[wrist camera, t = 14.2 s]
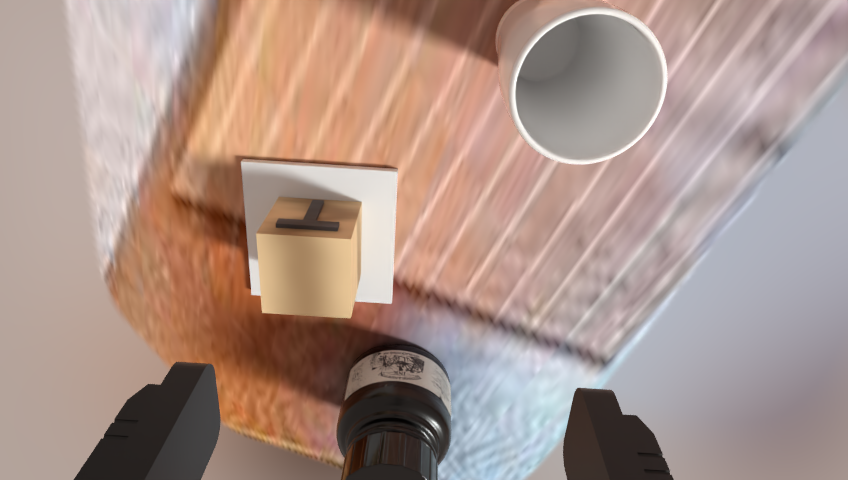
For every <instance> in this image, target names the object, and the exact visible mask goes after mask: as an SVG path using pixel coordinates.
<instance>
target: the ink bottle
mask: <svg viewBox="0 0 848 480" xmlns="http://www.w3.org/2000/svg"><path fill="white" fill-rule="evenodd" d="M450 441H451V389H450V382H449V377H448V374H447V372H446V370H445V368H444V366H443V365H442V364H441V362H440V361H439V360H438V359H437V358H435V357H434V356H433V355H431V354H429V353H428V352H426V351H423V350H421V349H418V348H415V347H411V346H406V345H384V346H379V347H376V348H373V349H371V350H368V351H367V352H365V353H364V354H362V355H361V356H360V357H359V358H358V359H357V360H356V361H355V362H354V364H353V365H352V367H351V369H350V371H349V373H348V376H347V380H346V385H345V390H344V394H343V399H342V404H341V409H340V413H339V418H338V423H337V442H338V446H339V449H340V451H341V453H342V455H343V456H344V458H345V459H344V464H343V470H342V475H341V480H438V465H439V464H440V463H441V462H442V460H443V459H444V457H445V456H446V454H447V452H448V449H449V446H450Z"/></svg>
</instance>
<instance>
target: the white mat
mask: <svg viewBox="0 0 848 480" xmlns="http://www.w3.org/2000/svg"><path fill="white" fill-rule="evenodd" d="M241 170H242V182H243V195H244V207H245V219H246V232H247V244H248V256H249V268H250V281H251V293H252V295H261V291H260V278H259V265H258V251H257V238H256V233H257V231H258V230H259V228H260V226H261V225H262V223H263V222H264V220H265V218H266V217H267V215H268V213H269V212H270V210H271V209H272V207H273V205H274V204H275V202H276V200H277V199H278V197H290V198H306V199H322V200H338V201H354V202H362V239H361V276H360V281H359V285H358V289H357V294H356V298H355V301H356V302H372V303H388V304H392V294H393V271H394V247H395V224H396V201H397V178H398V169H392V168H377V167H361V166H346V165H330V164H315V163H300V162H284V161H269V160H253V159H243V160H242V161H241Z"/></svg>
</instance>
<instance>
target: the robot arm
mask: <svg viewBox="0 0 848 480" xmlns="http://www.w3.org/2000/svg"><path fill="white" fill-rule="evenodd" d="M219 430H220V410H219V402H218V394H217V386H216V377H215V370H214V367H213V365H212V364H204V363H188V362H176V363H175V364H174V365H173V366H172V367H171V369H170V371H169V372H168V374H167V375H166V377H165V379H164V380H163V382H162V384H161V385H155V384H148V385H146V386H145V387H144V388H142V389H141V390H140V391H138V392H137V393H136V394H135V395H133V396H132V397H131V398H130V399H128V400H127V402H126V403H125V405H124V406H123V407H122V409H121V410H120V412H119V413H118V415H117V416H116V418H115V422H114V423H112V424H111V425H110V427H109V428H108V430H107V431H106V433H105V434H104V438H103V439H101V440H100V441H99V443H98V445H97V446H96V447H95V449H94V451H93V452H92V453H91V455H90V456H89V458H88V459H87V461H86V462H85V464H84V465H83V467H82V468H81V470H80V471H79V473H78V474H77V476H76V477H75V479H74V480H201V478H202V475H203V473H204V471H205V469H206V466H207V464H208V462H209V460H210V457H211V455H212V453H213V450H214V448H215V446H216V443H217V440H218V435H219ZM563 456H564V457H563V458H564V467H565V472H566V475H567V480H673V477H672V475H670V471H669V468H668V465H667V463H666V461H665V459H664V458H663V457H662V452H661V449H660V447H659V445H658V442H657V440H656V438H655V436H654V434H653V433H652V431H651V430H650V429H649V428H648V427H647V426H646V425H645V424H644V423H643V422H642V421H641V420H640V419H639V418H638V417H637V416H636V415H623V414H622V412H621V409H620V407H619V404H618V401H617V399H616V396H615V394H614V392H613V391H612V390H603V389H587V388H577V389H576V391H575V393H574V397H573V402H572V406H571V411H570V415H569V420H568V424H567V429H566V433H565V438H564V446H563Z"/></svg>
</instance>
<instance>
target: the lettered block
mask: <svg viewBox="0 0 848 480" xmlns="http://www.w3.org/2000/svg"><path fill="white" fill-rule="evenodd" d="M256 238H257V251H258V265H259V278H260V291H261V304H262V313H272V314H288V315H304V316H321V317H337V318H351V315H352V311H353V307H354V302H355V298H356V294H357V289H358V285H359V281H360V276H361V239H362V202H354V201H338V200H322V199H306V198H290V197H278V199H277V200H276V202H275V204H274V205H273V207H272V209H271V210H270V212H269V213H268V215H267V217H266V218H265V220H264V222H263V223H262V225H261V226H260V228H259V230H258V231H257V233H256Z"/></svg>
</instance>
